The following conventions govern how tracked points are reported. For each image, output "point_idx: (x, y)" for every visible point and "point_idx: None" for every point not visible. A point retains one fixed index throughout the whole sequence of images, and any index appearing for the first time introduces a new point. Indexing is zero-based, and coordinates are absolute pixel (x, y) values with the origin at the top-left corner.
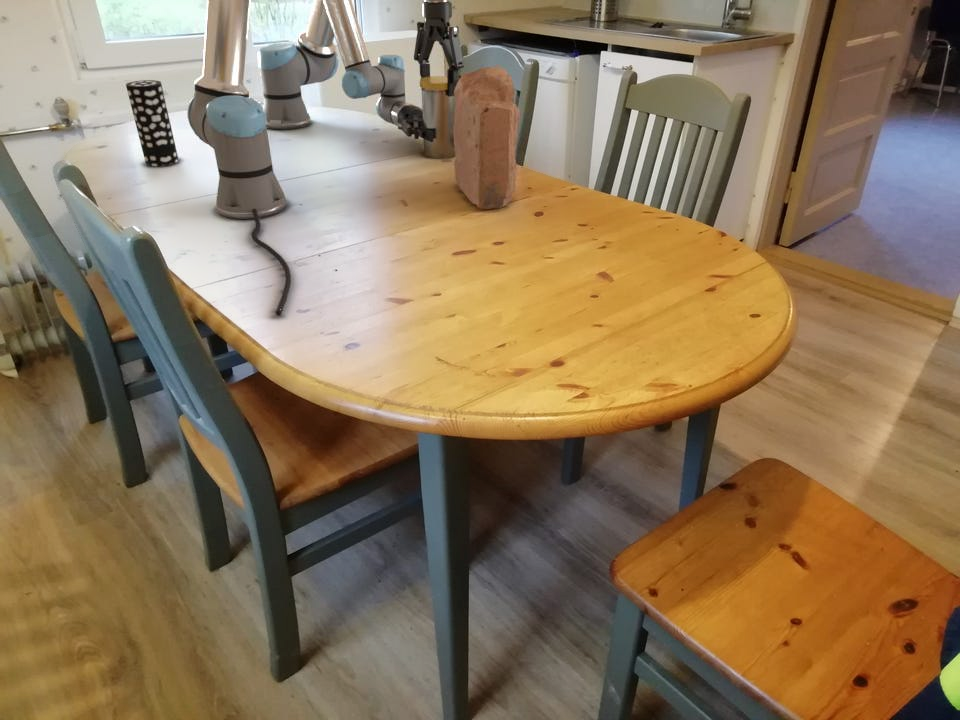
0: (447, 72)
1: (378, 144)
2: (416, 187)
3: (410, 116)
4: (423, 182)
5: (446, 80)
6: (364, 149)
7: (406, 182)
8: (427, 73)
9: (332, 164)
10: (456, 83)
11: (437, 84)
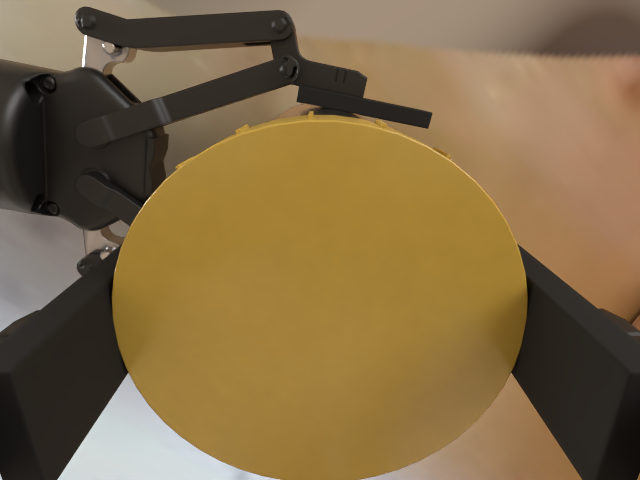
0: (577, 467)
1: (61, 265)
2: (518, 436)
3: (43, 178)
4: (505, 402)
5: (410, 300)
6: None
7: (467, 430)
8: (95, 339)
9: (189, 473)
10: (558, 283)
11: (447, 438)
